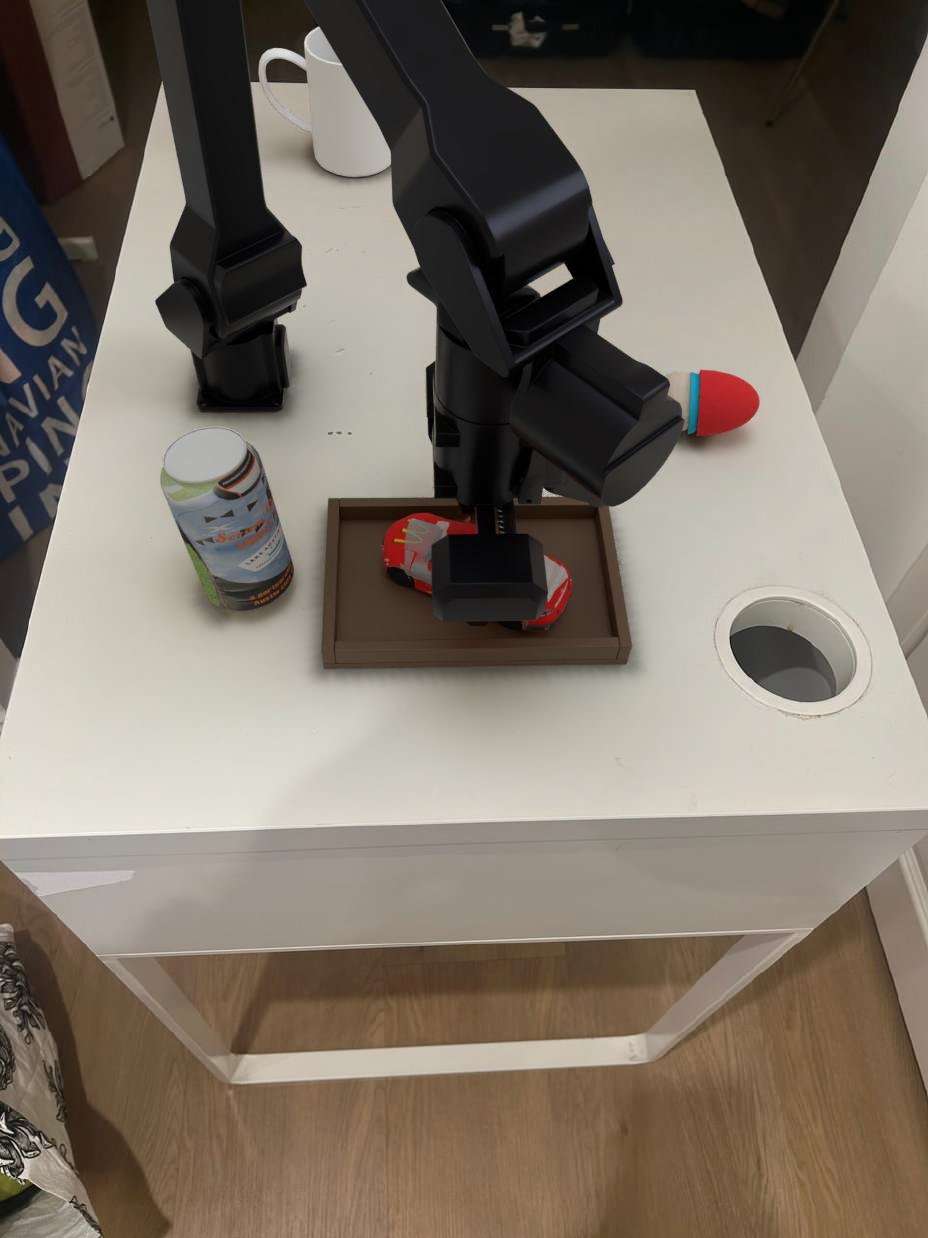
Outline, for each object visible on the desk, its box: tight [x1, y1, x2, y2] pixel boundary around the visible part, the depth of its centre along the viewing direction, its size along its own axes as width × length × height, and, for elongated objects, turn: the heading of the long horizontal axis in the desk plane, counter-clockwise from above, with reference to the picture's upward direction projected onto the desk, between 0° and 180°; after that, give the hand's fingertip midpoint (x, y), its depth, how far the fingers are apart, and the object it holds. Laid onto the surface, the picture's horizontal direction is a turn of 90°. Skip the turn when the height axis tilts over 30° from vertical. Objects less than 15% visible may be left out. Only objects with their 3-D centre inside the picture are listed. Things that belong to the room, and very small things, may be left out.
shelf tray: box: [320, 496, 633, 670], centre depth 65 cm, size 20×13×2 cm, turn 93°
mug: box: [258, 26, 391, 178], centre depth 90 cm, size 12×8×10 cm, turn 95°
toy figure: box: [664, 369, 761, 437], centre depth 75 cm, size 8×5×15 cm
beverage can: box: [159, 425, 295, 612], centre depth 61 cm, size 6×7×12 cm
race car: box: [381, 513, 572, 632], centre depth 64 cm, size 13×5×4 cm, turn 64°
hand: (474, 565), depth 64 cm, fingers open, 9 cm apart
